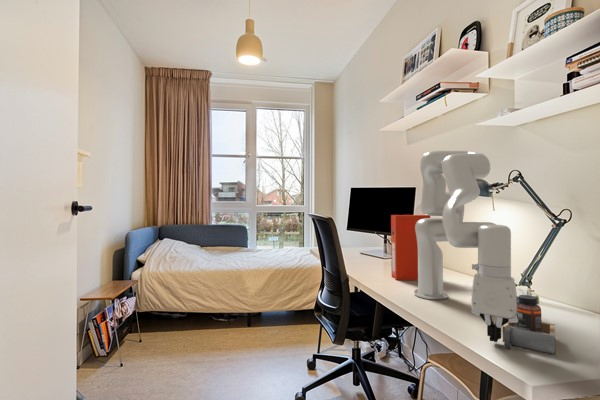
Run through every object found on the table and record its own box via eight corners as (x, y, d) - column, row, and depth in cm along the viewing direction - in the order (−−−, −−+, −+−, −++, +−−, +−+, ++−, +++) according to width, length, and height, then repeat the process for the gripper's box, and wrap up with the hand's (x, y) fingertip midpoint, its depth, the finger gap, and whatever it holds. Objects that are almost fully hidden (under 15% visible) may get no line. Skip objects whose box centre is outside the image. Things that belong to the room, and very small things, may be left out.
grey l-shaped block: (506, 342, 84) (506, 325, 84) (554, 353, 78) (553, 334, 78) (504, 347, 81) (504, 330, 81) (554, 359, 74) (553, 340, 74)
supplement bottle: (543, 337, 86) (542, 296, 86) (541, 344, 82) (540, 301, 82) (516, 331, 90) (516, 292, 90) (513, 338, 86) (513, 296, 86)
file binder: (391, 276, 162) (391, 214, 163) (424, 276, 162) (424, 214, 163) (396, 280, 154) (395, 215, 155) (431, 280, 154) (430, 215, 155)
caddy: (507, 329, 93) (507, 315, 93) (554, 338, 86) (554, 324, 86) (502, 341, 85) (502, 326, 85) (554, 353, 78) (554, 337, 78)
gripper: (459, 269, 85) (460, 336, 85) (527, 278, 76) (527, 354, 76) (466, 265, 91) (466, 328, 91) (529, 272, 81) (530, 343, 81)
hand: (494, 339), depth 83 cm, fingers closed
